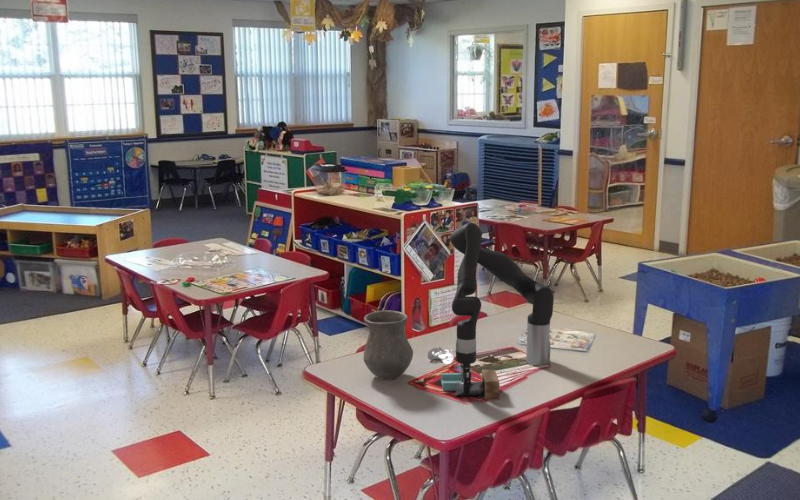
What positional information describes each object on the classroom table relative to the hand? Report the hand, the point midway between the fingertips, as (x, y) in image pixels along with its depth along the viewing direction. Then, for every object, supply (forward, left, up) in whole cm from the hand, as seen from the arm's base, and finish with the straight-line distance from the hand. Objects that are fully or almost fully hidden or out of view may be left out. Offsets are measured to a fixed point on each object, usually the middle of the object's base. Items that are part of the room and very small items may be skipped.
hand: (465, 392), depth 289 cm
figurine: (+6, -36, -1) cm, 36 cm away
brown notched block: (-9, -1, -1) cm, 9 cm away
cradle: (+4, -9, -1) cm, 10 cm away
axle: (-3, 0, -1) cm, 3 cm away
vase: (+29, -19, -1) cm, 35 cm away
